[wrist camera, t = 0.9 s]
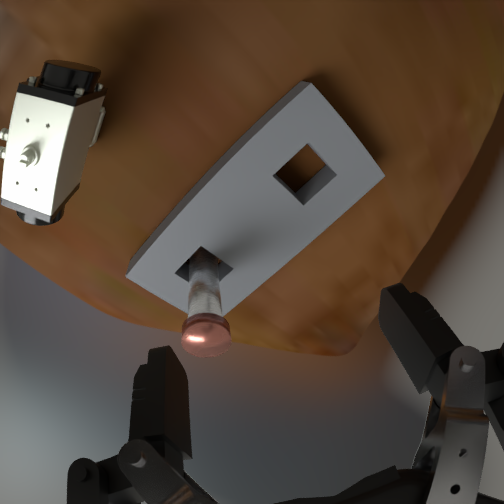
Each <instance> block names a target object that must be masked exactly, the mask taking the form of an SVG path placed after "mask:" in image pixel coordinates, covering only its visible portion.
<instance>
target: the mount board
mask: <svg viewBox="0 0 504 504" xmlns="http://www.w3.org/2000/svg"><path fill="white" fill-rule="evenodd" d="M306 144H308V145H309V146H310V147H311V148H312V149H313V150H314V152H315V153H316V154H317V155H318V156H319V157H320V158H321V159H322V160H323V162H324V163H325V164H326V165H325V166H324V167H323V168H322V169H321V170H320V171H319V172H318V173H317V174H316V175H314V176H313V177H312V178H311V179H310V180H309V181H308V182H307V183H306V184H305V185H304V186H302V187H301V188H300V189H299V190H298V191H297V192H296V193H295V192H294V191H293V190H292V189H291V188H290V187H289V186H287V185H286V184H285V183H284V182H283V181H282V180H281V179H280V178H279V177H278V176H277V175H276V174H275V173H276V172H277V171H278V170H279V169H280V168H281V167H282V166H283V165H284V164H285V163H287V162H288V161H289V160H290V159H291V158H292V157H293V156H294V155H295V154H296V153H297V152H298V151H299V150H301V149H302V148H303V147H304V146H305V145H306ZM384 176H385V175H384V173H383V172H382V171H381V169H380V168H379V166H378V165H377V164H376V162H375V161H374V159H373V158H372V157H371V155H370V154H369V153H368V151H367V150H366V149H365V147H364V146H363V145H362V143H361V142H360V141H359V139H358V138H357V137H356V135H355V134H354V133H353V132H352V130H351V129H350V128H349V126H348V125H347V124H346V123H345V122H344V120H343V119H342V118H341V117H340V115H339V114H338V113H337V112H336V111H335V109H334V108H333V107H332V106H331V105H330V104H329V102H328V101H327V100H326V99H325V98H324V97H323V95H322V94H321V93H320V92H319V91H318V90H317V89H316V88H315V86H314V85H313V84H312V83H309V82H304V81H300V82H299V83H298V84H297V85H296V86H295V87H294V88H292V89H291V90H290V91H289V92H288V93H287V94H286V95H285V96H284V97H283V98H281V99H280V100H279V101H278V102H277V103H276V104H275V105H274V106H273V107H272V108H271V109H270V110H269V111H267V112H266V113H265V114H264V115H263V116H262V117H261V118H260V119H259V120H258V121H257V122H256V123H255V124H254V125H253V126H252V127H251V128H250V129H249V130H248V131H247V132H246V133H245V134H244V135H243V136H242V137H241V138H240V139H239V140H238V141H237V142H236V143H235V144H234V145H233V146H232V147H231V148H230V149H229V150H228V151H227V152H226V153H225V154H224V155H223V156H222V157H221V158H220V159H219V160H218V161H217V162H216V163H215V164H214V165H213V166H212V167H211V168H210V169H209V170H208V172H207V173H206V174H205V175H204V176H203V177H202V178H201V179H200V180H199V181H198V182H197V183H196V184H195V185H194V187H193V188H192V189H191V190H190V191H189V192H188V193H187V194H186V195H185V196H184V198H183V199H182V200H181V201H180V202H179V203H178V204H177V205H176V207H175V208H174V209H173V210H172V211H171V212H170V213H169V215H168V216H167V217H166V218H165V219H164V220H163V221H162V223H161V224H160V225H159V226H158V227H157V228H156V230H155V231H154V232H153V233H152V234H151V236H150V237H149V238H148V239H147V240H146V242H145V243H144V244H143V245H142V246H141V248H140V249H139V250H138V251H137V252H136V254H135V255H134V256H133V257H132V259H131V260H130V263H129V266H128V270H127V273H126V276H125V277H127V278H128V279H130V280H132V281H133V282H135V283H136V284H138V285H140V286H141V287H143V288H145V289H146V290H148V291H150V292H151V293H153V294H155V295H156V296H158V297H160V298H161V299H163V300H165V301H167V302H168V303H170V304H172V305H173V306H175V307H177V308H179V309H180V310H182V311H184V312H186V313H188V297H189V267H190V266H189V265H188V264H186V263H185V262H186V261H187V260H188V259H189V258H190V257H191V255H192V254H193V253H194V252H195V251H196V250H197V249H198V248H199V247H200V246H202V247H203V248H205V249H206V250H208V251H209V252H211V253H212V254H213V255H215V256H216V257H218V258H219V259H221V260H222V262H221V263H220V264H219V265H218V272H219V284H220V295H221V306H222V316H224V315H225V314H226V313H228V312H229V311H230V310H231V309H232V308H234V307H235V306H236V305H237V304H239V303H240V302H241V301H242V300H243V299H245V298H246V297H247V296H248V295H249V294H251V293H252V292H253V291H254V290H255V289H256V288H258V287H259V286H260V285H261V284H262V283H264V282H265V281H266V280H267V279H268V278H270V277H271V276H272V275H273V274H274V273H275V272H277V271H278V270H279V269H280V268H281V267H282V266H284V265H285V264H286V263H287V262H288V261H289V260H291V259H292V258H293V257H294V256H295V255H296V254H298V253H299V252H300V251H301V250H302V249H303V248H305V247H306V246H307V245H308V244H309V243H310V242H311V241H313V240H314V239H315V238H316V237H317V236H318V235H320V234H321V233H322V232H323V231H324V230H325V229H326V228H327V227H329V226H330V225H331V224H332V223H333V222H334V221H335V220H337V219H338V218H339V217H340V216H341V215H342V214H343V213H344V212H346V211H347V210H348V209H349V208H350V207H351V206H352V205H353V204H355V203H356V202H357V201H358V200H359V199H360V198H361V197H362V196H363V195H365V194H366V193H367V192H368V191H369V190H370V189H371V188H372V187H373V186H375V185H376V184H377V183H378V182H379V181H380V180H381V179H382V178H383V177H384Z"/></svg>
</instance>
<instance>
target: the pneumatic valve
mask: <svg viewBox="0 0 504 504" xmlns="http://www.w3.org/2000/svg"><path fill="white" fill-rule="evenodd" d="M100 75H101V70H99V69H97V68H95V67H92V66H88V65H84V64H80V63H75V62H69V61H62V60H47V61H45V62H44V66H43V69H42V72H41V75H40V76H38V77H30V78H28V79H27V81H26V82H22V83H19V86H18V90H17V94H16V98H15V102H14V106H13V111H12V116H11V121H10V126H9V130H8V129H6V128H3V129H2V130H1V132H0V139H2V140H6V141H7V144H6V148H4V147H2V146H1V147H0V158H3V159H4V167H3V177H2V190H1V205H3V206H6V207H8V208H11V209H14V210H16V212H17V215H18V216H19V218H20V219H22V220H23V221H25V222H26V223H29V224H32V225H39V226H43V225H50V224H53V223H56V222H57V221H59V220H60V219H61V218H62V216H63V214H64V208H65V204H66V203H67V202H68V200H69V199H70V198H71V197H72V196H73V194H74V193H75V192H76V191H77V190H78V189H79V185H80V181H81V176H82V172H83V168H84V164H85V160H86V156H87V152H88V149H89V147H91V146H93V145H94V143H96V141H97V138H98V134H99V131H100V128H101V125H102V122H103V119H104V116H105V113H106V111H105V107H102V103H103V101H104V98H105V95H106V92H107V89H108V88H105V87H103V84H100V83H98V80H99V77H100Z"/></svg>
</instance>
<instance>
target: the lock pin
mask: <svg viewBox="0 0 504 504" xmlns="http://www.w3.org/2000/svg"><path fill="white" fill-rule="evenodd" d="M230 345H231V335H230V327H229V323H228V322H227V320H226V319H225V318H223V316H222V306H221V295H220V284H219V272H218V260H217V257H216V256H215V255H213V254H212V253H211V252H209V251H208V250H206V249H205V248H203V247H202V246H200V247H199V248H198V249H197V250H196V251H195V252H194V253H193V254H192V255H191V257H190V267H189V297H188V318H187V319H186V320H185V321H184V323H183V325H182V346H183V348H184V349H185V350H186V351H187V352H188V353H190V354H192V355H194V356H197V357H214V356H218V355H221V354H223V353H224V352H226V351H227V350H228V349H229V347H230Z"/></svg>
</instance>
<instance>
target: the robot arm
mask: <svg viewBox="0 0 504 504" xmlns="http://www.w3.org/2000/svg"><path fill="white" fill-rule="evenodd" d="M378 319H379V324H380V328H381V330H382V332H383V333H384V335H385V336H386V338H387V340H388V341H389V343H390V345H391V346H392V348H393V350H394V351H395V353H396V355H397V356H398V358H399V360H400V361H401V363H402V365H403V367H404V368H405V370H406V372H407V373H408V375H409V377H410V379H411V380H412V382H413V384H414V386H415V387H416V389H417V391H418V393H419V394H422V393H424V392H426V391H428V390H429V392H430V393H431V395H432V396H431V398H430V403H429V409H428V414H427V418H426V423H425V428H424V432H423V436H422V440H421V443H420V446H419V448H418V450H417V452H416V455H415V458H414V461H413V464H412V467H411V469H399V470H397V469H396V466H395V465H394V466H392V467H390V468H387V469H385V470H383V471H380V472H378V473H375V474H373V475H370V476H367V477H365V478H363V479H362V480H360V481H359V482H357V483H356V484H354V485H353V486H351V487H349V488H348V489H346V490H344V491H343V492H341V493H339V494H337V495H335V496H330V497H316V498H297V499H293V500H289V501H284V502H279V503H275V504H504V501H502V500H499V499H496V498H493V497H490V496H487V495H485V494H482V493H479V492H478V489H479V484H480V480H481V475H482V470H483V464H484V459H485V452H486V445H487V438H488V428H489V421H490V423H491V425H492V427H493V429H494V431H495V433H496V435H497V437H498V439H499V441H500V444H501V446H502V448H503V450H504V343H503V344H502V346H501V348H500V349H495V350H490V351H485V352H480V351H479V350H478V349H476V348H474V347H471V346H464V345H463V344H462V343H461V342H460V340H459V339H458V338H457V336H456V335H455V334H454V332H453V331H452V330H451V328H450V327H449V326H448V325H447V323H446V322H445V321H444V320H443V318H442V317H440V315H439V313H438V312H437V311H436V310H434V307H433V306H432V305H431V303H430V302H429V301H428V300H427V299H426V298H425V297H423V296H422V295H420V294H418V293H417V292H412V293H410V292H409V291H408V290H407V289H406V288H405V286H404V285H403V284H402V283H397V284H394V285H392V286H389V287H386V288H383V289H382V290H381V297H380V307H379V316H378ZM132 400H133V401H132V405H131V416H130V430H129V439H128V442H127V443H125V444H124V445H123V446H122V447H121V449H120V451H119V453H118V454H117V455H115V456H113V457H111V458H108V459H105V460H102V461H100V462H96V463H95V462H94V461H92V460H90V459H88V458H80V459H77V460H75V461H74V462H73V463H72V464H71V466H70V468H69V470H68V479H67V504H141V502H143V501H145V502H146V503H147V504H220V503H218V502H217V501H216V500H215V499H214V498H213V497H211V496H210V495H209V494H208V493H207V492H206V491H205V490H204V489H203V488H202V487H201V486H199V484H198V483H197V482H195V480H194V479H192V478H191V477H190V476H189V475H188V474H187V473H186V471H185V470H184V467H183V460H187V459H192V446H191V432H190V415H189V414H190V413H189V390H188V379H187V375H186V372H185V370H184V368H183V366H182V364H181V363H180V361H179V360H178V358H177V356H176V354H175V353H174V352H173V350H172V348H171V347H170V346H163V347H158V348H153V349H150V350H149V353H148V363H147V364H144V365H140V367H139V369H138V371H137V373H136V374H135V377H134V383H133V393H132ZM483 409H484V411H485V413H486V415H485V414H484V411H483Z"/></svg>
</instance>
